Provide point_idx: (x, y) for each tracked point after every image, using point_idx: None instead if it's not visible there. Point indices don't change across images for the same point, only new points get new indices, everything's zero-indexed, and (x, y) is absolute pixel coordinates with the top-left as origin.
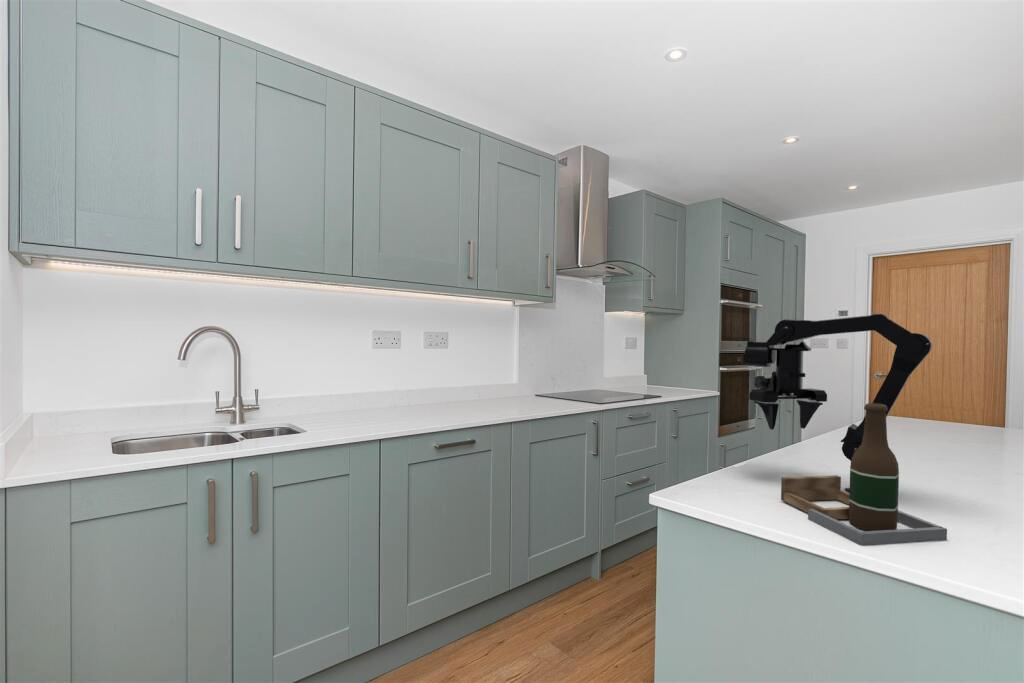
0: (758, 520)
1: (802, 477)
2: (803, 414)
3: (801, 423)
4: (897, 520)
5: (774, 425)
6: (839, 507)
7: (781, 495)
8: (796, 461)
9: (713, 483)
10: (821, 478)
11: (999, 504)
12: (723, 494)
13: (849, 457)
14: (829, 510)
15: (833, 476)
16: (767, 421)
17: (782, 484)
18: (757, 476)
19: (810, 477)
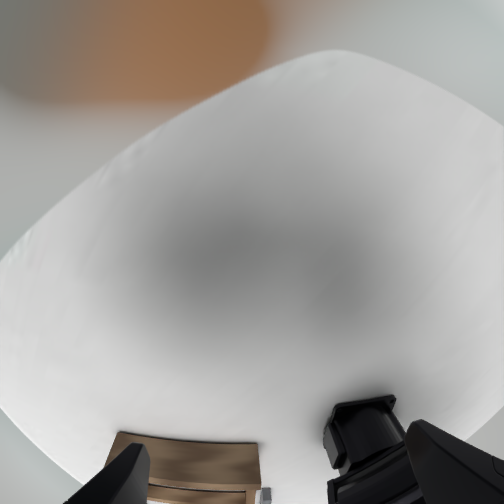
0: (56, 453)
1: (154, 480)
2: (457, 495)
3: (422, 448)
4: (260, 501)
5: (143, 489)
6: (173, 501)
7: (115, 439)
8: (452, 113)
9: (19, 298)
10: (203, 487)
11: (475, 426)
12: (24, 367)
13: (329, 501)
14: (150, 499)
15: (244, 487)
16: (99, 477)
17: (108, 458)
18: (170, 256)
19: (175, 484)
